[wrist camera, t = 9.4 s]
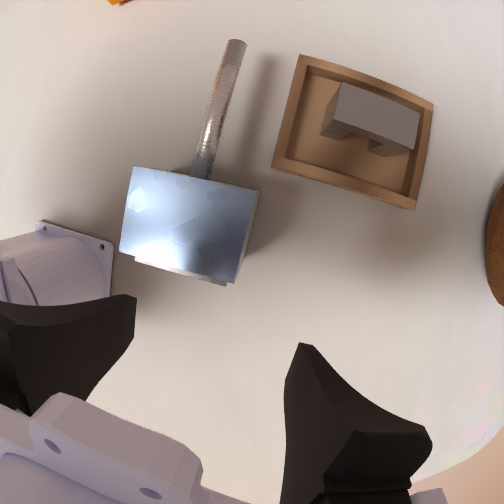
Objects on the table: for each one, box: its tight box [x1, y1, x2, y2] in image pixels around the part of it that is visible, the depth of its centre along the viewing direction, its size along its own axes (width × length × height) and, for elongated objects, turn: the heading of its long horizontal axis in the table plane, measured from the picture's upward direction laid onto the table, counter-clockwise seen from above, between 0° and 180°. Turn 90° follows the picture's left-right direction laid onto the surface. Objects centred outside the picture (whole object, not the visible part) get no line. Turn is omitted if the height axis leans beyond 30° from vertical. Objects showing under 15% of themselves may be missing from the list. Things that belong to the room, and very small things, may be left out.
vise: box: [119, 39, 261, 286], centre depth 17 cm, size 7×15×6 cm, turn 166°
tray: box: [271, 54, 433, 210], centre depth 18 cm, size 10×8×2 cm
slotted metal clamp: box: [320, 82, 420, 157], centre depth 16 cm, size 5×2×5 cm, turn 75°
